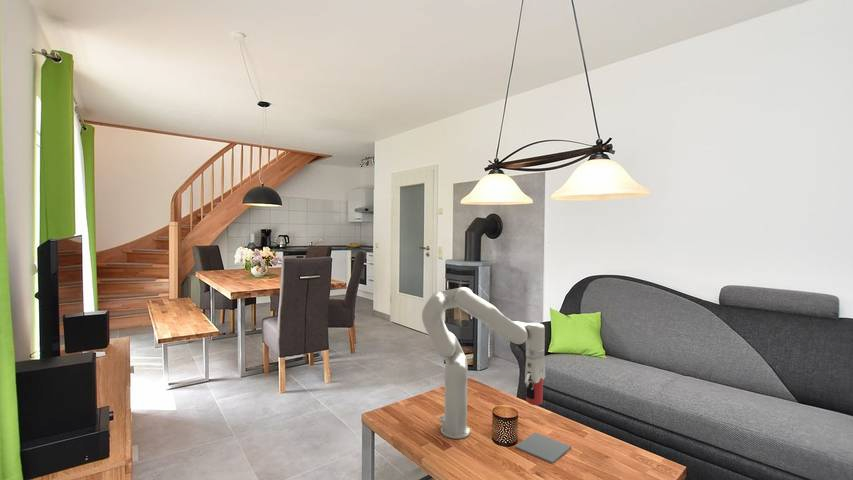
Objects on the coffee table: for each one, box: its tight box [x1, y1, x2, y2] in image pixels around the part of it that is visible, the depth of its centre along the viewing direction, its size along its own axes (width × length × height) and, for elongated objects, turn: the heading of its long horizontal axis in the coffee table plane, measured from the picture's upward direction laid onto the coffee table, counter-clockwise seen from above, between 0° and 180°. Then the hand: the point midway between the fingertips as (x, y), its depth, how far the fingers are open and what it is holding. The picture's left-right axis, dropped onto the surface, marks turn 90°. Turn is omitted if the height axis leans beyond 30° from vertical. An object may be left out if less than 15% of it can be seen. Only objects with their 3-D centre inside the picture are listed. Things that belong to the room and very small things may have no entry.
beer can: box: [525, 378, 544, 406], centre depth 169 cm, size 7×7×12 cm
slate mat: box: [514, 432, 572, 464], centre depth 160 cm, size 16×16×1 cm
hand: (534, 395), depth 169 cm, fingers closed on beer can, 6 cm apart
